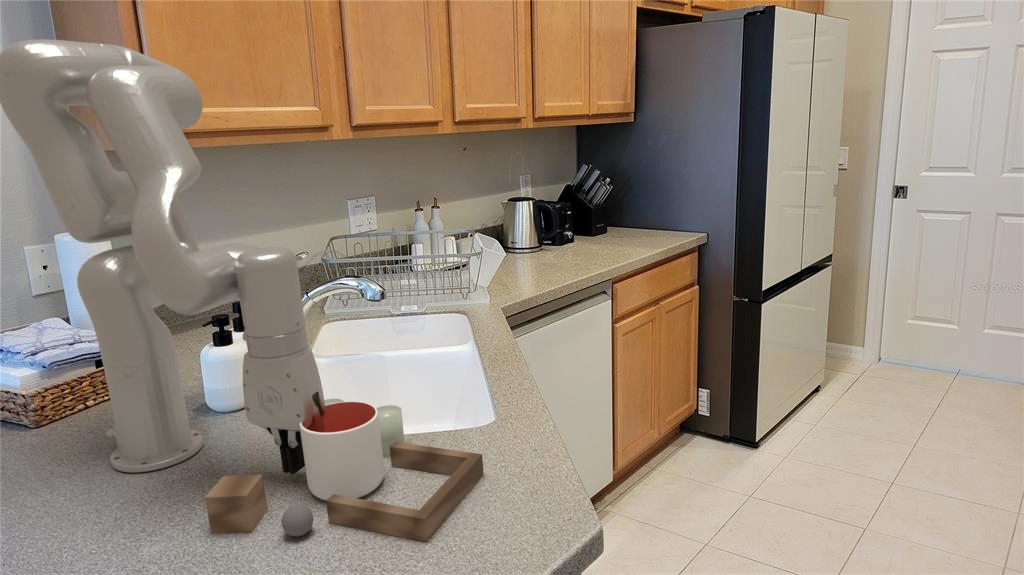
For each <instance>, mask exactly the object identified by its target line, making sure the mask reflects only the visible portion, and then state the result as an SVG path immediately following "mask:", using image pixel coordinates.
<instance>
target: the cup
mask: <svg viewBox="0 0 1024 575" xmlns="http://www.w3.org/2000/svg"><path fill="white" fill-rule="evenodd" d="M376 408H377V407H376V406H374V405H373V404H370V403H367V402H363V401H344V402H339V403H333V404H329V405H325V415H324V417H323V418H322V421H323V424H324V427H325V430H324V431H322V432H314V431H310V430H308V427H309V426H308V427H307V428H304V427H303V425H302V422H300V424H299V425H300V432H301V440H302V447H303V454H304V461H305V467H304V468H305V474H306V481H307V487H308V490H309V491H310V492H311V494H313V495H314V496H315V498H316V497H317V499H320V500H323V501H326V500H327V499H328V498H330V497H331V496H332V495H333V494H335V495H340V496H346V497H351V498H357V499H360V498H362V497H365V496H367V495H368V494H370V493H372V492H373V491H374V490H375V489H377V488H378V487H379V485H380V484H381V483H382V481H383V480H384V477H385V465H384V463H385V462H384V456H383V453H382V444H381V435H380V426H379V416H378V410H377V409H376ZM318 409H319V412H320V408H318ZM320 414H321V413H320Z"/></svg>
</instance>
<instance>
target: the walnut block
mask: <svg viewBox="0 0 1024 575" xmlns="http://www.w3.org/2000/svg"><path fill="white" fill-rule="evenodd" d="M204 500H205V505H206V512H207V516H208V523H209V528H210V533H211V534H212V535H215V534H216V535H219V534H221V535H222V534H225V535H226V534H227V535H228V534H252V533H253V532H254V531H255V529H256V528H257V526H259V524H260V522H261V521H262V519H263V518H264V516H266V513H267V512H268V502H267V495H266V490H265V484H264V477H263V474H248V475H247V474H244V475H243V474H242V475H223V476H222V477H221V478H220V479H219V480H218V481H217V483H216V484H215V485H214V486H213V487H212V488H211V489H210V490H209V492H208V493H207V494H206V495H205V497H204Z"/></svg>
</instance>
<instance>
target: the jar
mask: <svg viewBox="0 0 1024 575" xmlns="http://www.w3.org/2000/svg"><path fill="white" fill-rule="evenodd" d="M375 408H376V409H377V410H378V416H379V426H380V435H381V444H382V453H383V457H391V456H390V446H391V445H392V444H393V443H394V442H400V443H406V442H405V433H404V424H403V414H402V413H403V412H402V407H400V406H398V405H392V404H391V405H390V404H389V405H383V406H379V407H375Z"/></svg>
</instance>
